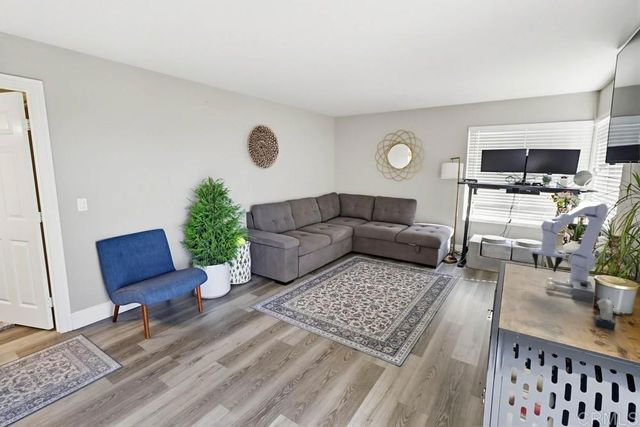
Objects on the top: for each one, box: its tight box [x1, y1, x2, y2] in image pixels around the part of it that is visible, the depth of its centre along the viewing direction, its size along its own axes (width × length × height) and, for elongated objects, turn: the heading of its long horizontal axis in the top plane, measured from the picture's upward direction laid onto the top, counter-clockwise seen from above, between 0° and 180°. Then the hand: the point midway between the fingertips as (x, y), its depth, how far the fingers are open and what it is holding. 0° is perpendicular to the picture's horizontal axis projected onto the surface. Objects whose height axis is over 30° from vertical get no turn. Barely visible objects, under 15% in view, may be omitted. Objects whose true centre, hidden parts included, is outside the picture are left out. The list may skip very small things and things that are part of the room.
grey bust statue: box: [593, 298, 616, 332], centre depth 123 cm, size 6×8×11 cm
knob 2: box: [545, 277, 572, 287], centre depth 159 cm, size 12×4×4 cm, turn 56°
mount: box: [569, 278, 596, 304], centre depth 151 cm, size 15×8×7 cm, turn 146°
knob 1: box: [545, 282, 573, 293], centre depth 153 cm, size 12×4×4 cm, turn 56°
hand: (544, 269), depth 159 cm, fingers open, 7 cm apart
